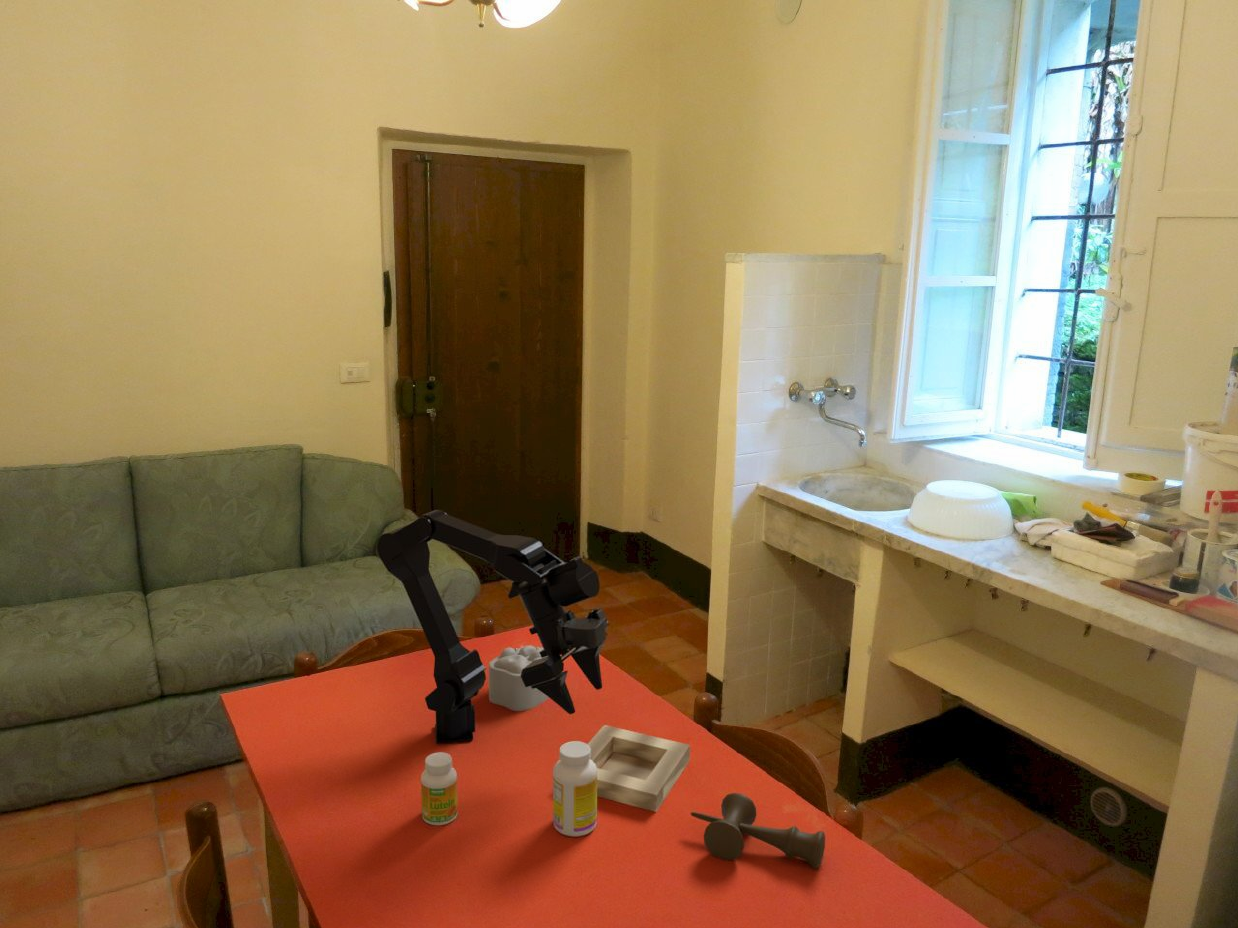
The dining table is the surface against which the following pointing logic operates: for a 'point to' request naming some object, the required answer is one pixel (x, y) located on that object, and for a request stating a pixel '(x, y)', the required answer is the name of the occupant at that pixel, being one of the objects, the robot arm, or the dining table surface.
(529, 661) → the lumpy-topped squat cylinder
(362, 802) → the dining table surface
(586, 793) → the supplement bottle
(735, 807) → the kendama
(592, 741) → the birch well block
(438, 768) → the supplement bottle
